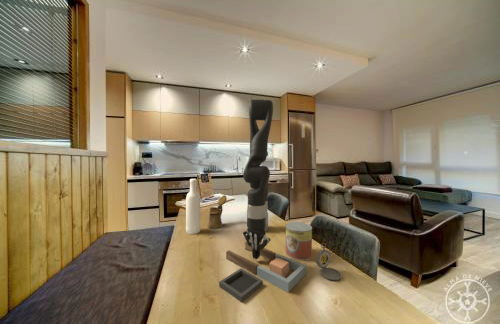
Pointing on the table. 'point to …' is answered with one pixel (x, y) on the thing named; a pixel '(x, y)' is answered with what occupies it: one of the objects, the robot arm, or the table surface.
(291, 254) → the canned food
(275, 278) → the slate bay
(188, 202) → the bottle
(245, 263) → the wooden bars
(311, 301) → the table surface
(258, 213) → the robot arm
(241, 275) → the dark gray tray
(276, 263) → the terracotta block
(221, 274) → the table surface
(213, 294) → the table surface
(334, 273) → the pocket watch
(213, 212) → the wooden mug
